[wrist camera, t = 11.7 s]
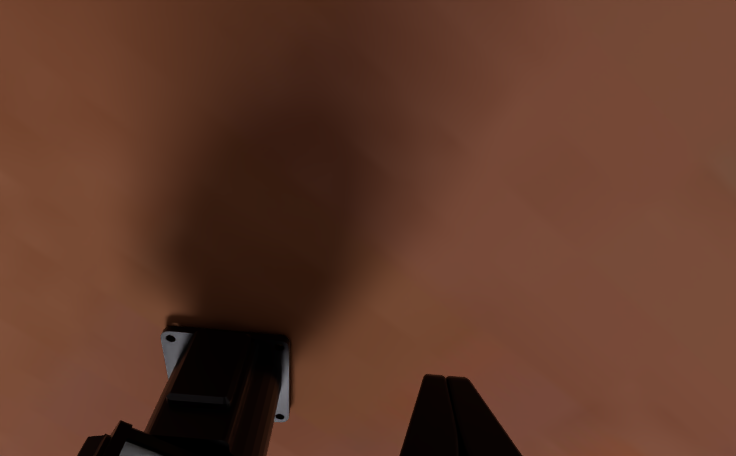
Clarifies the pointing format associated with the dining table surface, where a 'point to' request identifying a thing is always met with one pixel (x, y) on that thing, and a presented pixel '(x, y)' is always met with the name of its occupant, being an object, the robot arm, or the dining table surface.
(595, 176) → the dining table surface
